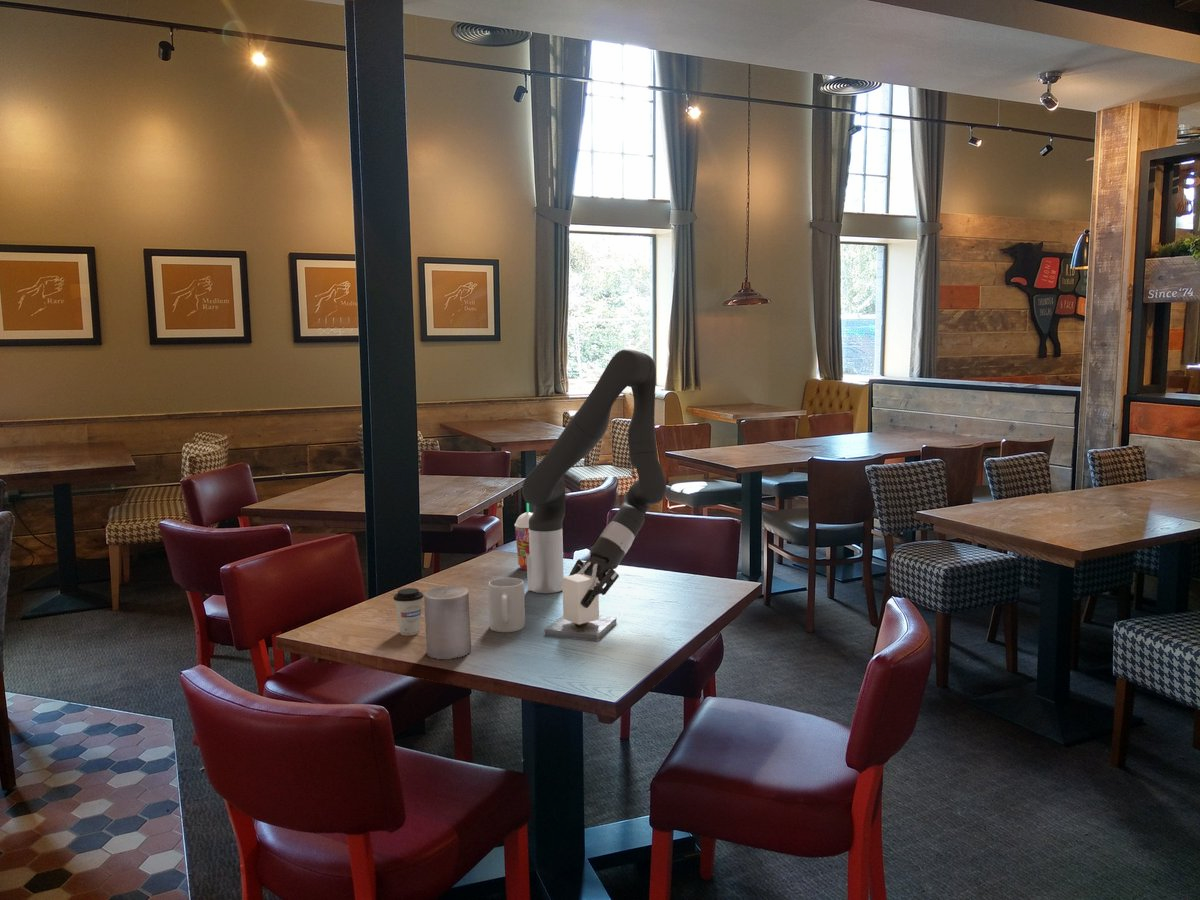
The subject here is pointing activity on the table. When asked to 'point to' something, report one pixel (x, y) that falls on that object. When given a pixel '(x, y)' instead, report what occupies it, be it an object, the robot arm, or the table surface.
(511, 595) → the mug
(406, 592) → the coffee cup
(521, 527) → the smoothie
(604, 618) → the base plate
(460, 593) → the pillar candle
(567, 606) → the white rectangular block
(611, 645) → the table surface
